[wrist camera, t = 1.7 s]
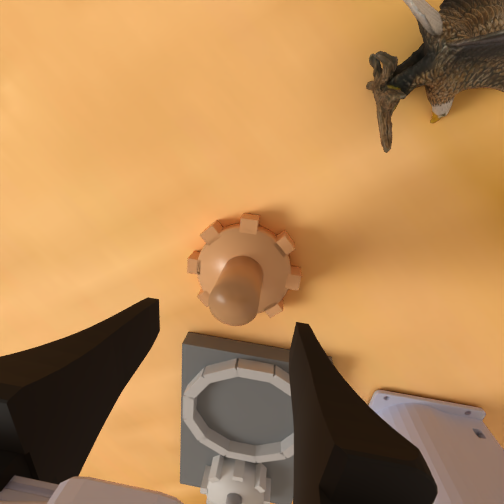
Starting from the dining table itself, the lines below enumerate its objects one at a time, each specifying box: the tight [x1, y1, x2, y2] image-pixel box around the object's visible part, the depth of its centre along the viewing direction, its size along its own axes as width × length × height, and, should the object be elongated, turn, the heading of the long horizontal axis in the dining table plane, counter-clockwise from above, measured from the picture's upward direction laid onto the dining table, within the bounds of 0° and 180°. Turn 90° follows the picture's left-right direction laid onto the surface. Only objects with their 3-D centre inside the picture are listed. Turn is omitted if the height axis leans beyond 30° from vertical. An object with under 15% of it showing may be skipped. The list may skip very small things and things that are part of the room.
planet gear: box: [187, 213, 301, 326], centre depth 18 cm, size 8×8×6 cm
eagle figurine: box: [366, 0, 504, 153], centre depth 12 cm, size 8×7×9 cm
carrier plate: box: [180, 332, 333, 504], centre depth 24 cm, size 13×21×5 cm, turn 173°
